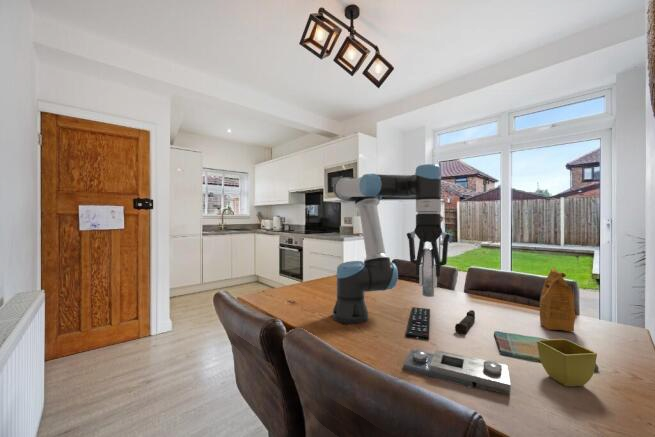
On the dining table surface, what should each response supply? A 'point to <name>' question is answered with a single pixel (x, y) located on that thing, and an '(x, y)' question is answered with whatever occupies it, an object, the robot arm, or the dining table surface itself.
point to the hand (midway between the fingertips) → (428, 285)
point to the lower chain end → (421, 364)
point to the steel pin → (427, 272)
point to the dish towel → (520, 346)
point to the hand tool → (465, 323)
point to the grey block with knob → (473, 371)
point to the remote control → (419, 323)
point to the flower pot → (567, 361)
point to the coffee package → (557, 303)
